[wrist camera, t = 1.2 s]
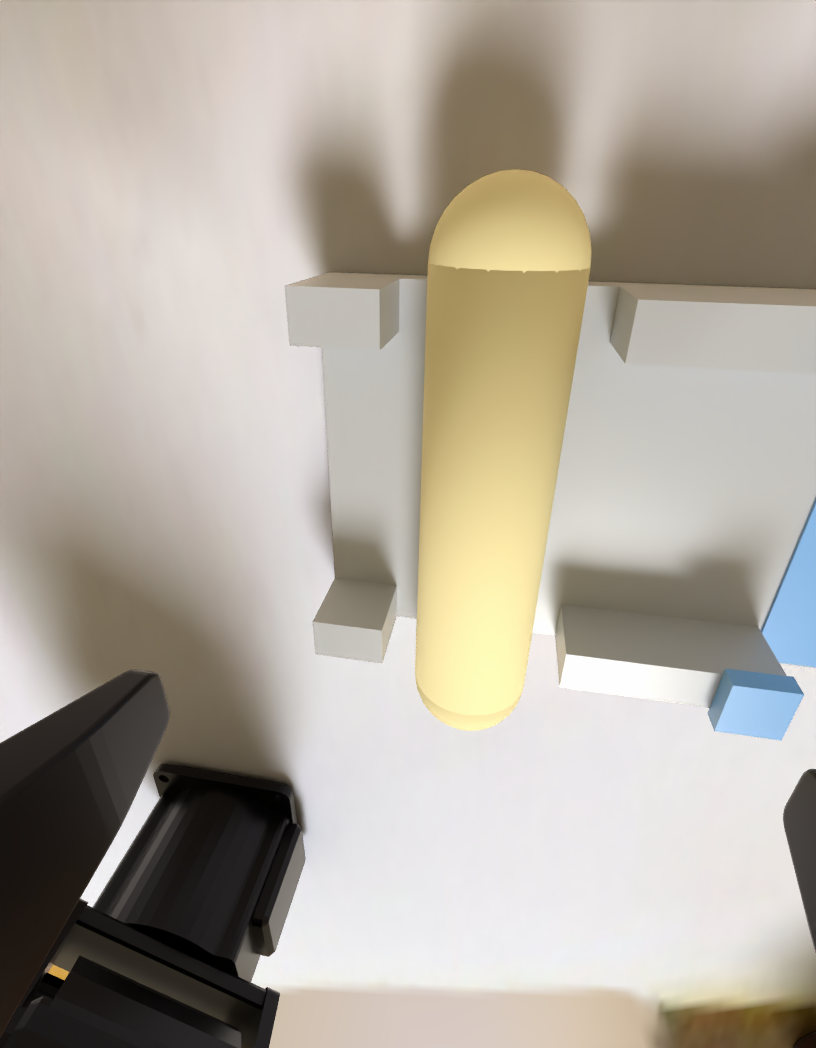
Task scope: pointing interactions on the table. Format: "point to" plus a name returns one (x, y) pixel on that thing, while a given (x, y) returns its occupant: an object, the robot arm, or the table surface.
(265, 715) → the table surface
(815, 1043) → the coffee mug
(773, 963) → the table surface
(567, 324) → the cream capsule cylinder
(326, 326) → the toy block layout
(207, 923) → the robot arm
